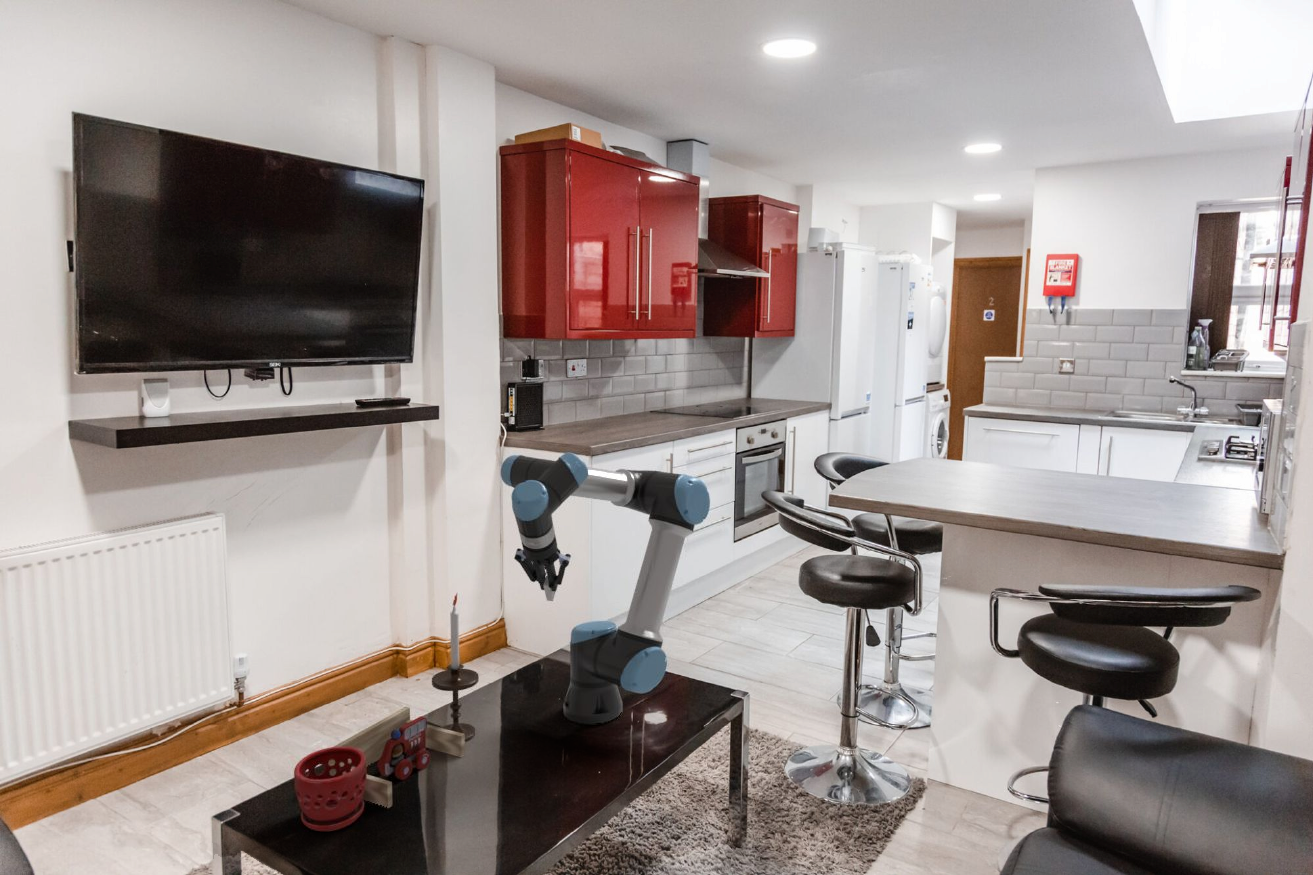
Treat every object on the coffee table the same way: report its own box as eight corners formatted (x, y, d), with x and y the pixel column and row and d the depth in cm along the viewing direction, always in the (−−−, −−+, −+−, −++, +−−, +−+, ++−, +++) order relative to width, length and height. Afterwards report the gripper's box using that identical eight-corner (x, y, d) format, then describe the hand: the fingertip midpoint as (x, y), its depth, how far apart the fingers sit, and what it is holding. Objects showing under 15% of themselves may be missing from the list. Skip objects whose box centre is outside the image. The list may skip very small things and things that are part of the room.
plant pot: (296, 809, 165) (294, 752, 163) (365, 795, 170) (363, 740, 169) (295, 845, 153) (293, 784, 151) (370, 830, 158) (368, 770, 157)
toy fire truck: (370, 778, 177) (369, 732, 176) (414, 754, 188) (413, 710, 186) (392, 787, 173) (391, 740, 172) (436, 762, 184) (435, 718, 183)
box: (464, 754, 187) (464, 721, 186) (388, 808, 165) (387, 770, 165) (406, 738, 195) (405, 706, 194) (325, 787, 173) (324, 751, 172)
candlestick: (469, 721, 204) (467, 584, 201) (486, 738, 195) (484, 595, 192) (426, 731, 198) (423, 591, 194) (441, 750, 189) (439, 603, 186)
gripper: (504, 547, 178) (520, 606, 195) (562, 554, 177) (574, 612, 194) (514, 520, 183) (529, 579, 200) (570, 526, 182) (581, 586, 199)
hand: (551, 595), depth 197 cm, fingers closed
